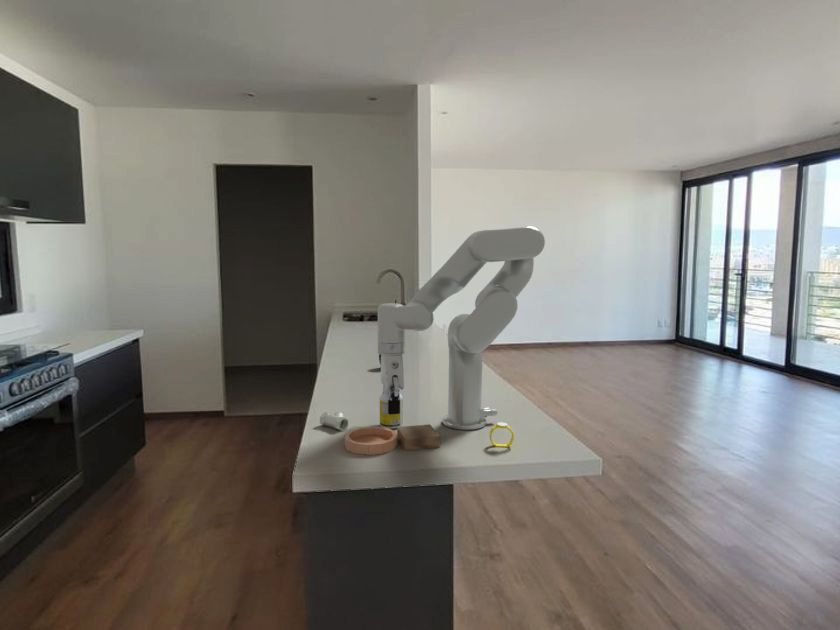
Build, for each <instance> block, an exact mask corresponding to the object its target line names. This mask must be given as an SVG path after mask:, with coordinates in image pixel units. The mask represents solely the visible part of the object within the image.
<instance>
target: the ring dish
mask: <svg viewBox="0 0 840 630" xmlns="http://www.w3.org/2000/svg"><path fill="white" fill-rule="evenodd" d="M344 445H345V446H344V447H345V449H346V450H347V451H349V452H351V453H353V454H355V455H356V454H357V455H364V454H366V456H373V455H382V454H385V453H388V452H391V451H393V450H395V449H396V447H397V446H398V439H397V431H395V430H393V429H388V428H385V427H381V426H363V427H358V428H354V429H351V430H349V431H348V432H346V433H345V434H344Z"/></svg>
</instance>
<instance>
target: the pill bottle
mask: <svg viewBox="0 0 840 630" xmlns="http://www.w3.org/2000/svg"><path fill="white" fill-rule="evenodd" d="M390 389H394V387H390ZM383 391H384V393H383ZM391 393H393V392H391ZM399 394H400V413H399V414H388V400H389V391H388V390H387V389H386V388H385V387H384V386H383V385H382V393H381V395H380V396H379V426H380V427H385V428H388V429H391V430H393V429H397V427H403V411H404V409H403V406H404V405H403V399H404V398H403V396H402V394H401V393H400V392H399Z"/></svg>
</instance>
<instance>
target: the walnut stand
mask: <svg viewBox="0 0 840 630" xmlns="http://www.w3.org/2000/svg"><path fill="white" fill-rule="evenodd" d="M396 434H397V441H398V442H399V443H400V445H401V446H402V448H403V450H404V451H405V452H406V451H415V450H423V449H424V450H427V449H435V448H437V449H438V448H440V447H441V435H440V434H439V433H438V432H437V430H435V429H434V427H433V426H432V425H431V424H430V423H429V424H420V425H419V424H415V425H407V426H406V425H405V426H400V427H397V428H396Z"/></svg>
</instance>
